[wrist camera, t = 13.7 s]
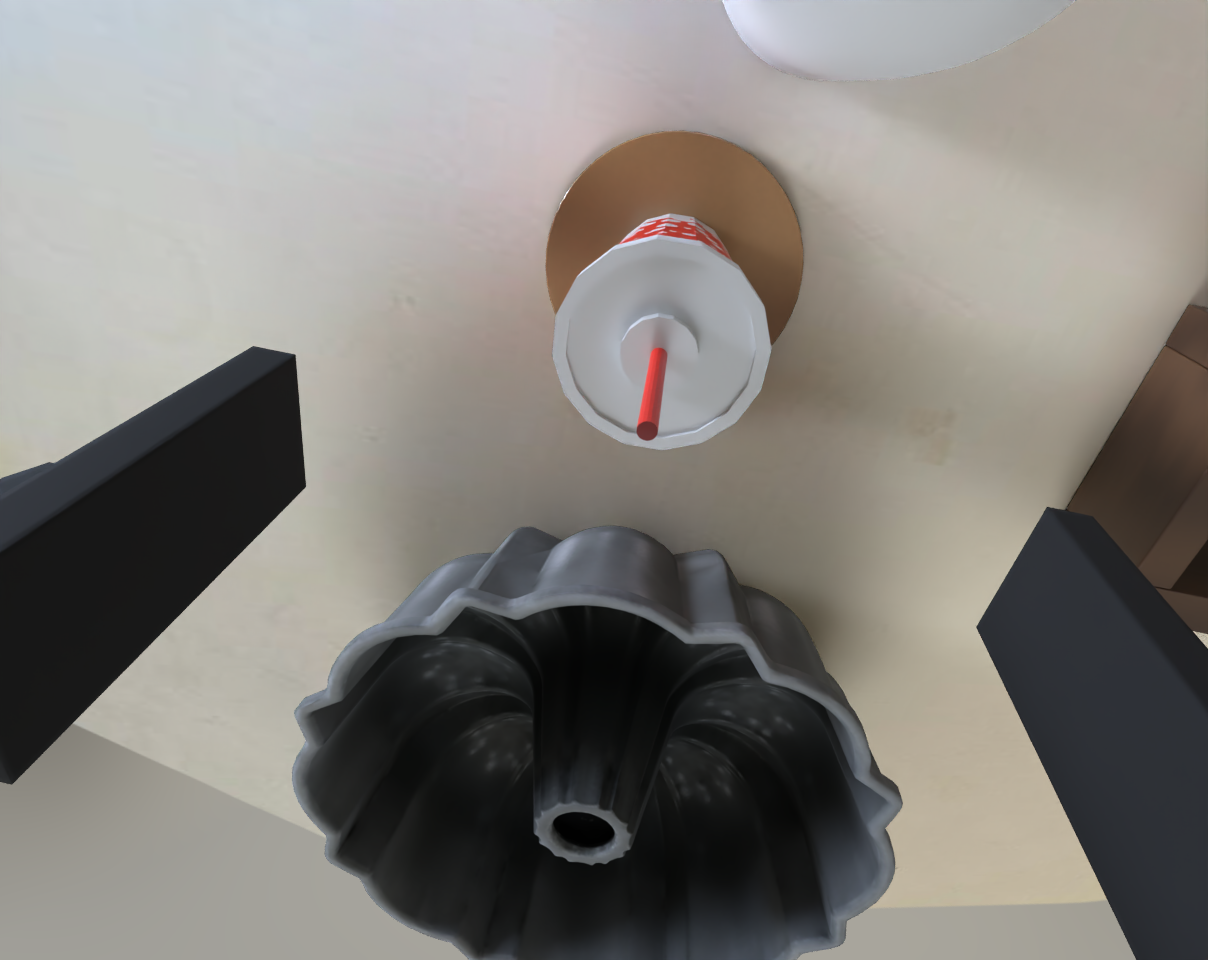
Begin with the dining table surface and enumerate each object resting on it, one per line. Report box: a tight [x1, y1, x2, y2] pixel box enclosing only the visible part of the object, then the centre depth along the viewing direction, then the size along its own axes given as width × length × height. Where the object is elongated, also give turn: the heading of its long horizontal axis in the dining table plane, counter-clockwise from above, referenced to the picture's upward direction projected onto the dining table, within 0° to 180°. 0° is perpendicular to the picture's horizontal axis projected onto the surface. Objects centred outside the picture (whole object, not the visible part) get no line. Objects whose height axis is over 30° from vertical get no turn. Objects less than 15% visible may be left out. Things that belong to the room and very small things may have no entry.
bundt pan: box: [292, 526, 903, 960], centre depth 34 cm, size 26×26×10 cm
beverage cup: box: [552, 213, 771, 450], centre depth 21 cm, size 6×6×14 cm
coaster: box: [546, 131, 803, 346], centre depth 27 cm, size 10×10×1 cm
